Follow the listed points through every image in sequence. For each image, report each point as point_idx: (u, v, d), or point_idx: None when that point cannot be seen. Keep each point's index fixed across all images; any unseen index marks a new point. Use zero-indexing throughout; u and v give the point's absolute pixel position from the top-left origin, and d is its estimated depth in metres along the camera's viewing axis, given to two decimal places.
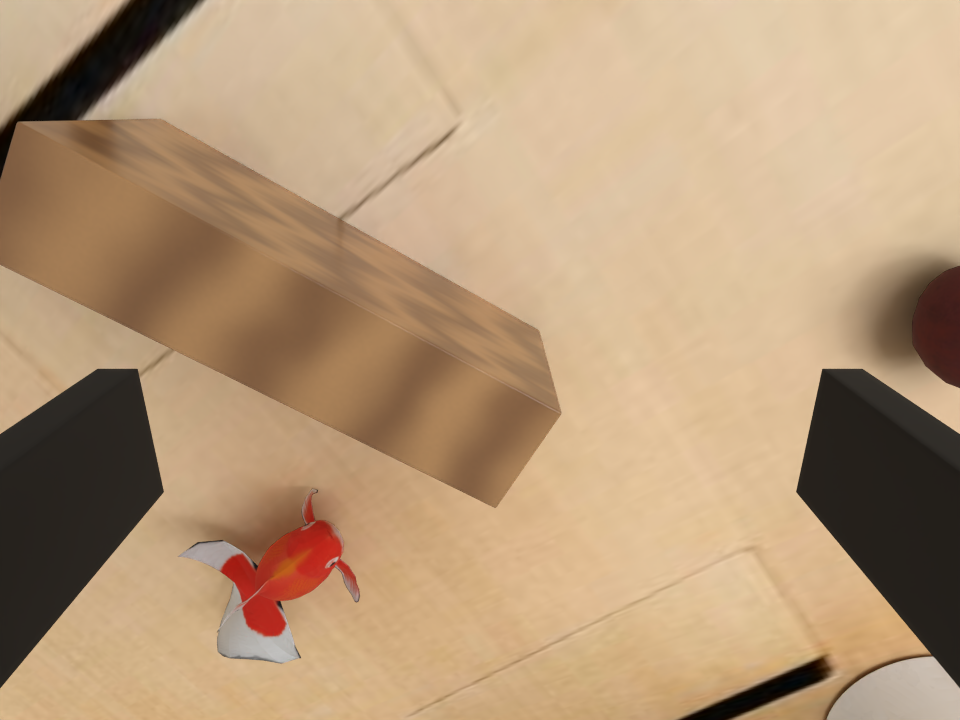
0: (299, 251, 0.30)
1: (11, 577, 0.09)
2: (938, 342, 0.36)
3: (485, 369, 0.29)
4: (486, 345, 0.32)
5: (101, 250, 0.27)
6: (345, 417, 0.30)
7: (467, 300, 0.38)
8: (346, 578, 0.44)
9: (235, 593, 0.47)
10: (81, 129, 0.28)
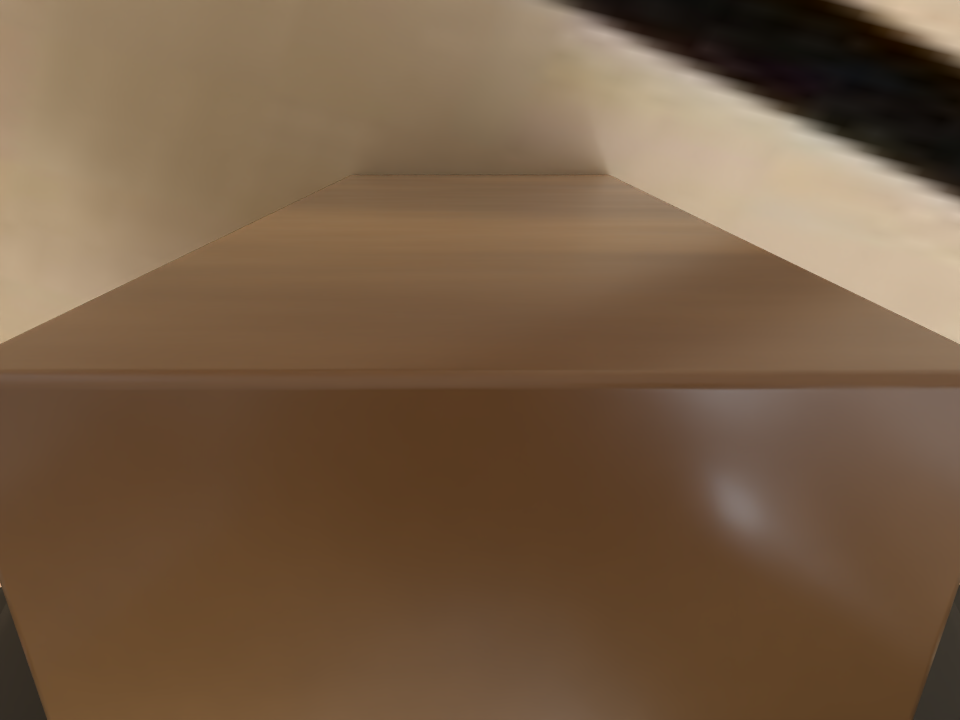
0: None
1: None
2: None
3: None
4: None
5: None
6: None
7: None
8: None
9: None
10: None
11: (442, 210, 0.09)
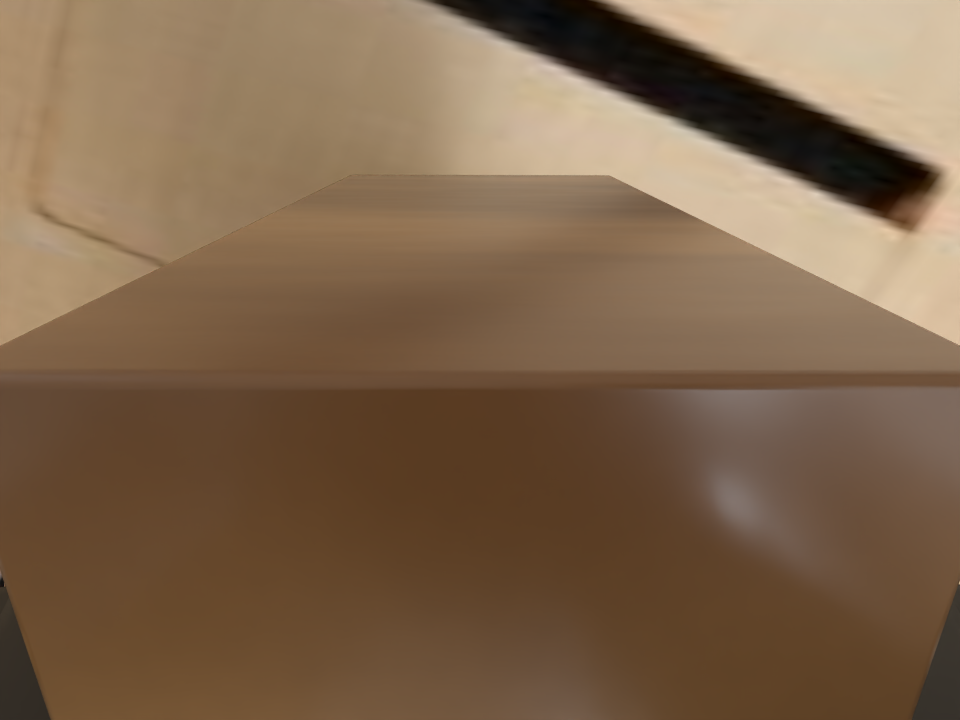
0: None
1: None
2: None
3: None
4: None
5: None
6: None
7: None
8: None
9: None
10: None
11: (442, 210, 0.09)
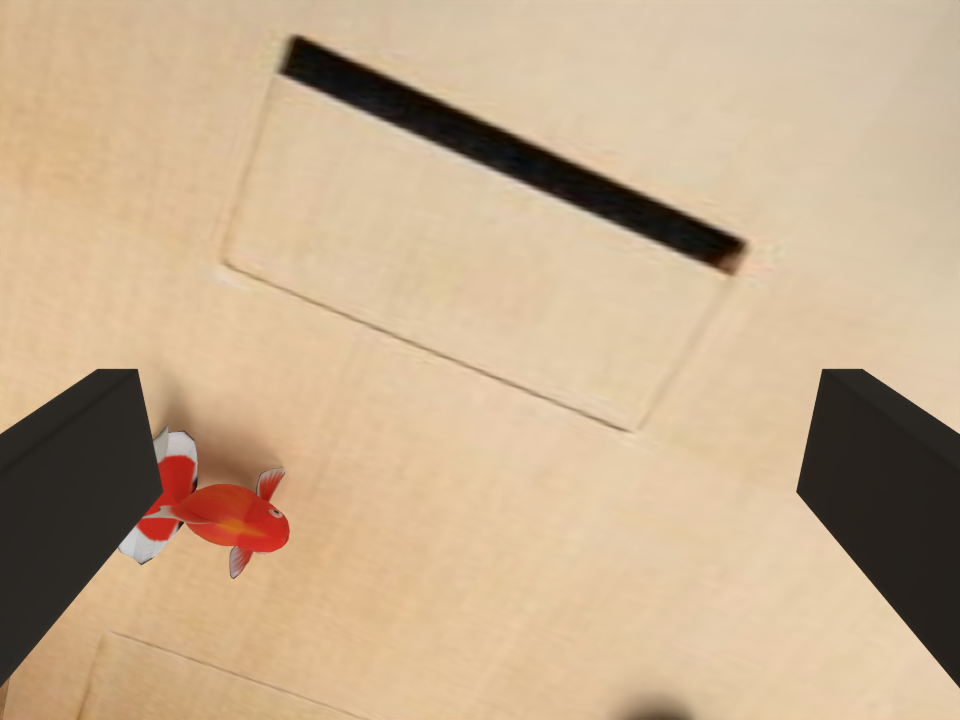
0: None
1: (12, 577, 0.09)
2: None
3: None
4: None
5: None
6: None
7: None
8: (237, 549, 0.47)
9: None
10: None
11: None
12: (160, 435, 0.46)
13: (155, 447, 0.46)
